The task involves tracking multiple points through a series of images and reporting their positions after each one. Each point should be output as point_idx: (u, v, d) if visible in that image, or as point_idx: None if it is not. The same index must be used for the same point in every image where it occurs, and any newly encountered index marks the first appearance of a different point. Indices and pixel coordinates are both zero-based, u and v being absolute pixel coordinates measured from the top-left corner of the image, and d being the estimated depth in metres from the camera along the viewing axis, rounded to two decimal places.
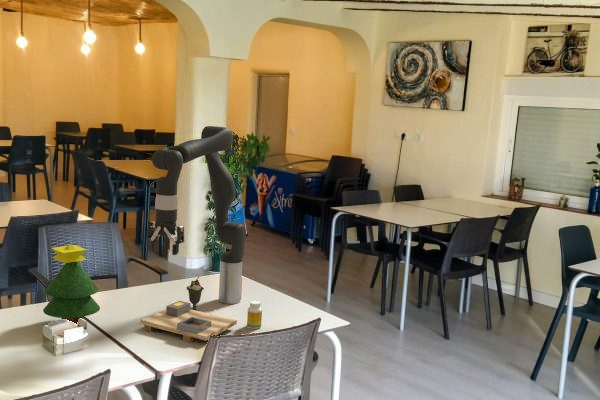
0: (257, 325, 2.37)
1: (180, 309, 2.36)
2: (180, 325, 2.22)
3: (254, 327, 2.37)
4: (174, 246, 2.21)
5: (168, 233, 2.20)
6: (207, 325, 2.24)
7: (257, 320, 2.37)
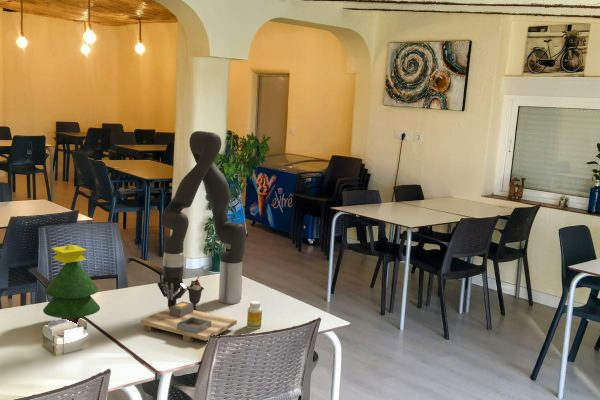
0: (257, 325, 2.37)
1: (183, 310, 2.35)
2: (180, 325, 2.22)
3: (254, 327, 2.37)
4: (172, 301, 2.39)
5: (172, 289, 2.37)
6: (207, 325, 2.24)
7: (257, 320, 2.37)
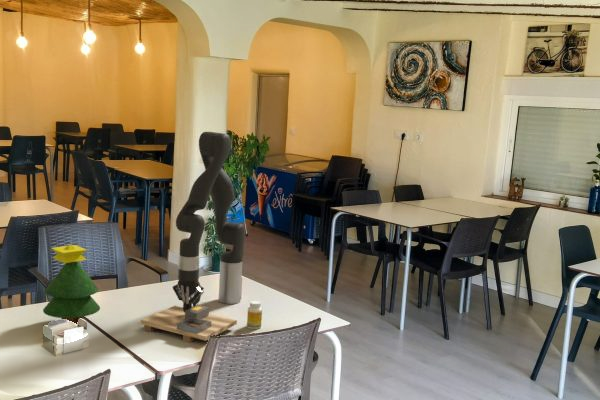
0: (257, 325, 2.37)
1: (199, 314, 2.32)
2: (180, 325, 2.22)
3: (254, 327, 2.37)
4: (187, 305, 2.36)
5: (188, 292, 2.34)
6: (207, 325, 2.24)
7: (257, 320, 2.37)
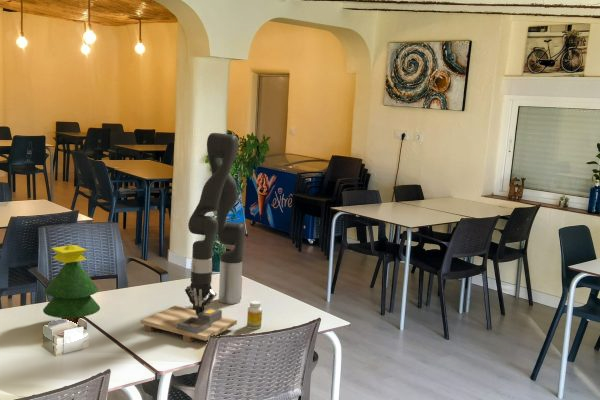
0: (257, 325, 2.37)
1: (212, 317, 2.30)
2: (180, 325, 2.22)
3: (254, 327, 2.37)
4: (200, 308, 2.34)
5: (200, 295, 2.32)
6: (207, 325, 2.24)
7: (257, 320, 2.37)
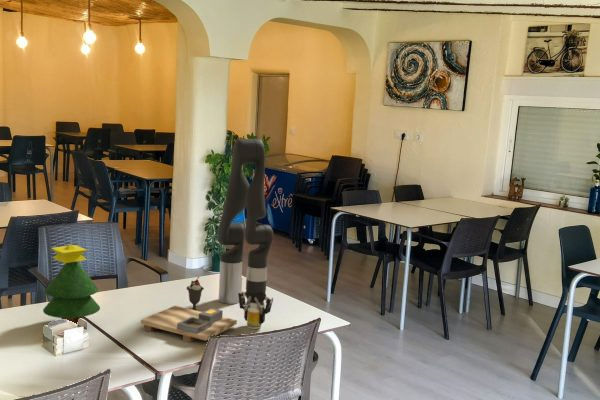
0: (257, 325, 2.37)
1: (213, 317, 2.30)
2: (180, 325, 2.22)
3: (254, 327, 2.37)
4: (261, 316, 2.36)
5: (258, 303, 2.36)
6: (207, 325, 2.24)
7: (257, 320, 2.37)
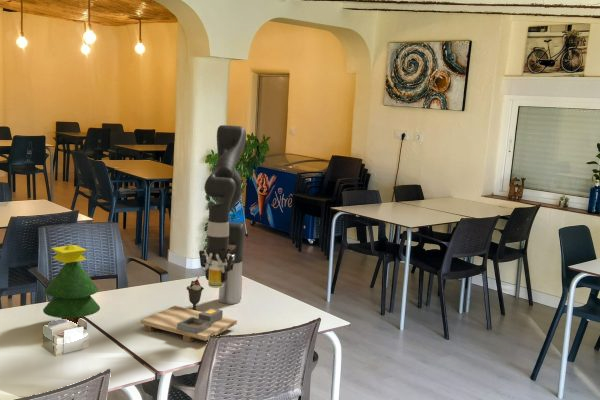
0: (219, 284, 2.24)
1: (213, 317, 2.30)
2: (180, 325, 2.22)
3: (216, 286, 2.24)
4: (223, 274, 2.24)
5: (219, 260, 2.23)
6: (207, 325, 2.24)
7: (219, 278, 2.24)
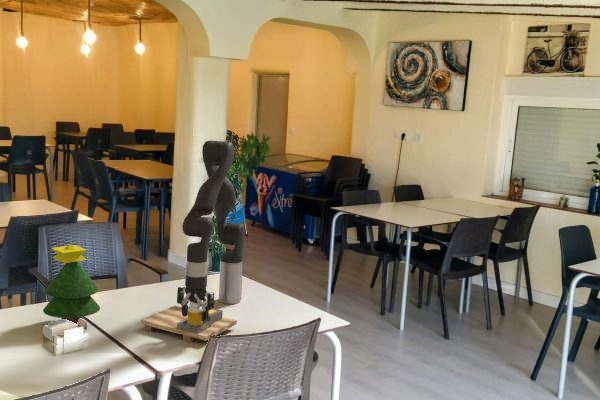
0: (197, 326, 2.22)
1: (213, 317, 2.30)
2: (180, 325, 2.22)
3: None
4: (204, 312, 2.21)
5: (198, 299, 2.21)
6: (207, 325, 2.24)
7: (198, 320, 2.22)
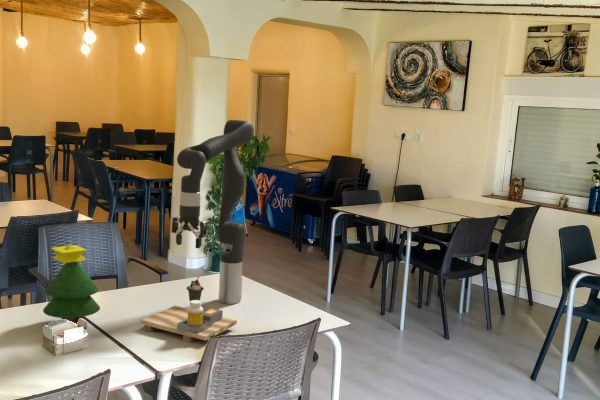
0: (197, 326, 2.22)
1: (213, 317, 2.30)
2: (180, 325, 2.22)
3: None
4: (197, 240, 2.37)
5: (192, 228, 2.36)
6: (207, 325, 2.24)
7: (198, 320, 2.22)
